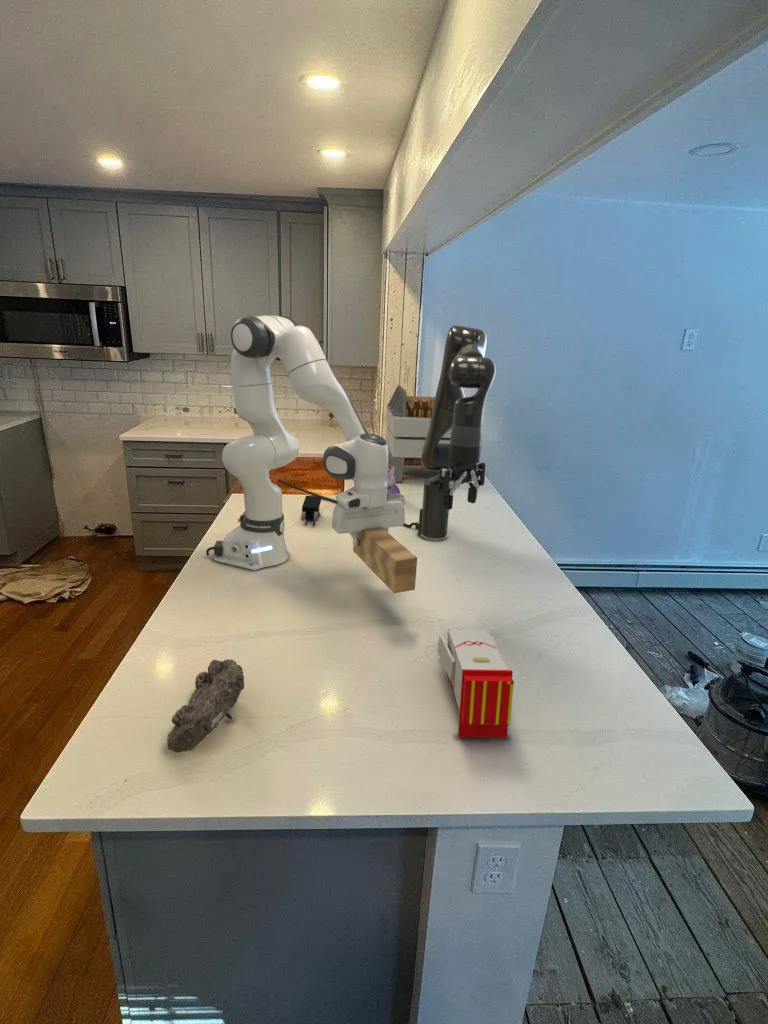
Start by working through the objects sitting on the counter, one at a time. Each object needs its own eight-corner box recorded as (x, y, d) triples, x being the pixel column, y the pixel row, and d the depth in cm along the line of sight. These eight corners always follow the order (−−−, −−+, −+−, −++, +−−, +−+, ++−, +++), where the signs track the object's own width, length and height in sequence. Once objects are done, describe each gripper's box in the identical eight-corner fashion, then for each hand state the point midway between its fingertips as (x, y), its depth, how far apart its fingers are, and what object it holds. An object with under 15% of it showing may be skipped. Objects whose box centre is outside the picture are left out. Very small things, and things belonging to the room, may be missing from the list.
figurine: (385, 507, 225) (387, 471, 220) (373, 500, 233) (375, 464, 228) (406, 505, 229) (408, 469, 224) (394, 497, 237) (395, 462, 232)
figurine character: (319, 531, 202) (322, 512, 216) (318, 512, 199) (322, 494, 212) (300, 530, 202) (304, 511, 216) (299, 511, 199) (304, 493, 212)
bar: (414, 589, 138) (417, 557, 135) (394, 593, 136) (396, 560, 133) (371, 548, 160) (372, 519, 158) (352, 550, 158) (353, 522, 155)
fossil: (192, 660, 117) (244, 628, 112) (224, 691, 120) (276, 661, 115) (142, 746, 98) (202, 712, 93) (182, 779, 101) (242, 748, 96)
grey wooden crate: (382, 463, 289) (386, 382, 275) (445, 464, 293) (451, 384, 279) (390, 482, 257) (394, 392, 243) (460, 483, 261) (468, 394, 247)
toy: (488, 613, 130) (523, 677, 101) (484, 667, 133) (517, 744, 104) (435, 612, 130) (455, 676, 101) (432, 666, 133) (451, 743, 103)
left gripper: (400, 488, 157) (397, 535, 162) (330, 495, 148) (329, 544, 153) (410, 496, 152) (407, 543, 156) (338, 503, 143) (337, 553, 148)
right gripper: (473, 436, 144) (467, 496, 149) (433, 442, 135) (428, 506, 141) (496, 442, 139) (489, 504, 144) (456, 448, 130) (450, 515, 135)
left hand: (368, 543), depth 155 cm, fingers closed on bar, 5 cm apart
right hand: (459, 505), depth 142 cm, fingers open, 8 cm apart
